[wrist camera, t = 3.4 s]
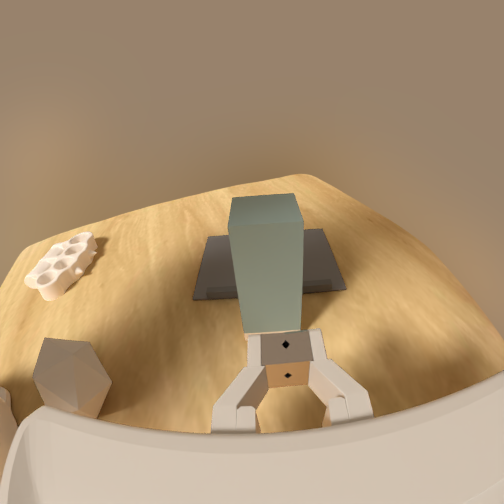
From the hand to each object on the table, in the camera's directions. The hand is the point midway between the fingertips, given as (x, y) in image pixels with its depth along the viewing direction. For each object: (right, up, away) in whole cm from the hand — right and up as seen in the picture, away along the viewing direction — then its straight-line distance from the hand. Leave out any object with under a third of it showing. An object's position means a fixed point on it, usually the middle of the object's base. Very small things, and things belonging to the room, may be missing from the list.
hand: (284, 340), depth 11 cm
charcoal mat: (+1, +3, +31) cm, 31 cm away
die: (-19, -12, +12) cm, 26 cm away
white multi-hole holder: (-37, 0, +34) cm, 50 cm away
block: (+1, -4, +21) cm, 21 cm away
